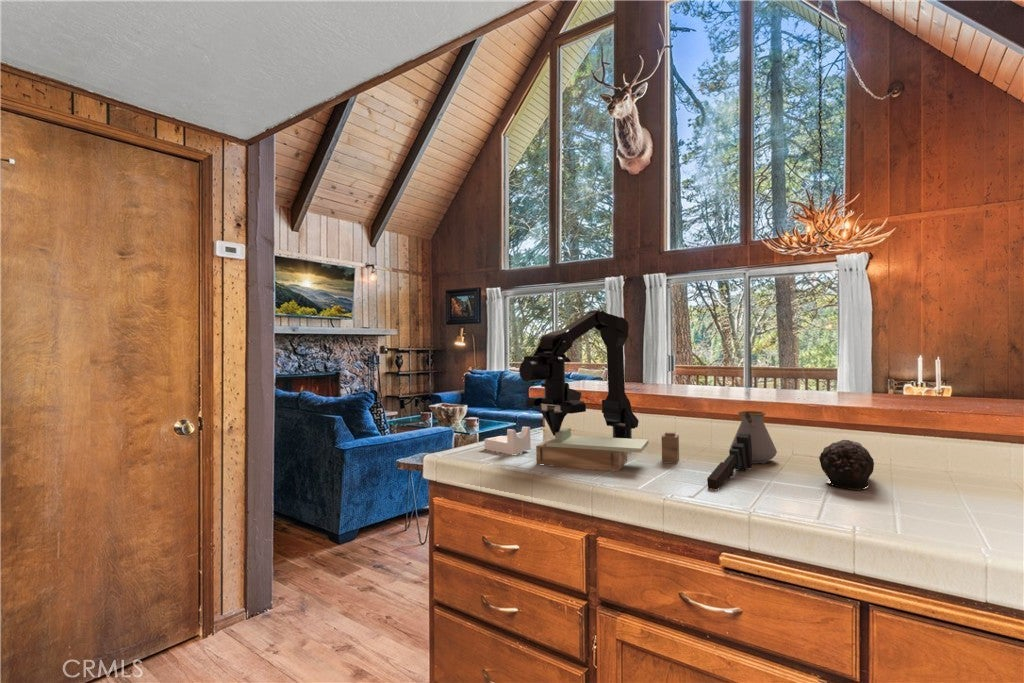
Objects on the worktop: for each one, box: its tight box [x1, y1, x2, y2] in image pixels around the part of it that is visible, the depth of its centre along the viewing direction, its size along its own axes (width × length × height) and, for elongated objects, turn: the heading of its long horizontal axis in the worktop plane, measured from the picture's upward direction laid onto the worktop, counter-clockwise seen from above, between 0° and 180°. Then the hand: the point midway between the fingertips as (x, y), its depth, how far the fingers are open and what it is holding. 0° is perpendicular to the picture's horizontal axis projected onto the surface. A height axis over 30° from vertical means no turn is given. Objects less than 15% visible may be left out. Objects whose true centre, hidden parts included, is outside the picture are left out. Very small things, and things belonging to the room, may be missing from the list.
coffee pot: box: [729, 410, 778, 464], centre depth 137 cm, size 21×12×15 cm, turn 151°
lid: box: [546, 427, 650, 453], centre depth 141 cm, size 12×25×3 cm, turn 67°
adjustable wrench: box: [706, 433, 753, 490], centre depth 126 cm, size 8×3×25 cm
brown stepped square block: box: [661, 431, 680, 464], centre depth 142 cm, size 4×4×8 cm
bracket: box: [484, 426, 532, 456], centre depth 160 cm, size 13×7×8 cm, turn 43°
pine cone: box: [818, 439, 875, 491], centre depth 120 cm, size 10×18×10 cm, turn 149°
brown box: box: [535, 437, 628, 472], centre depth 142 cm, size 13×22×5 cm, turn 67°
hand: (555, 435), depth 146 cm, fingers closed
